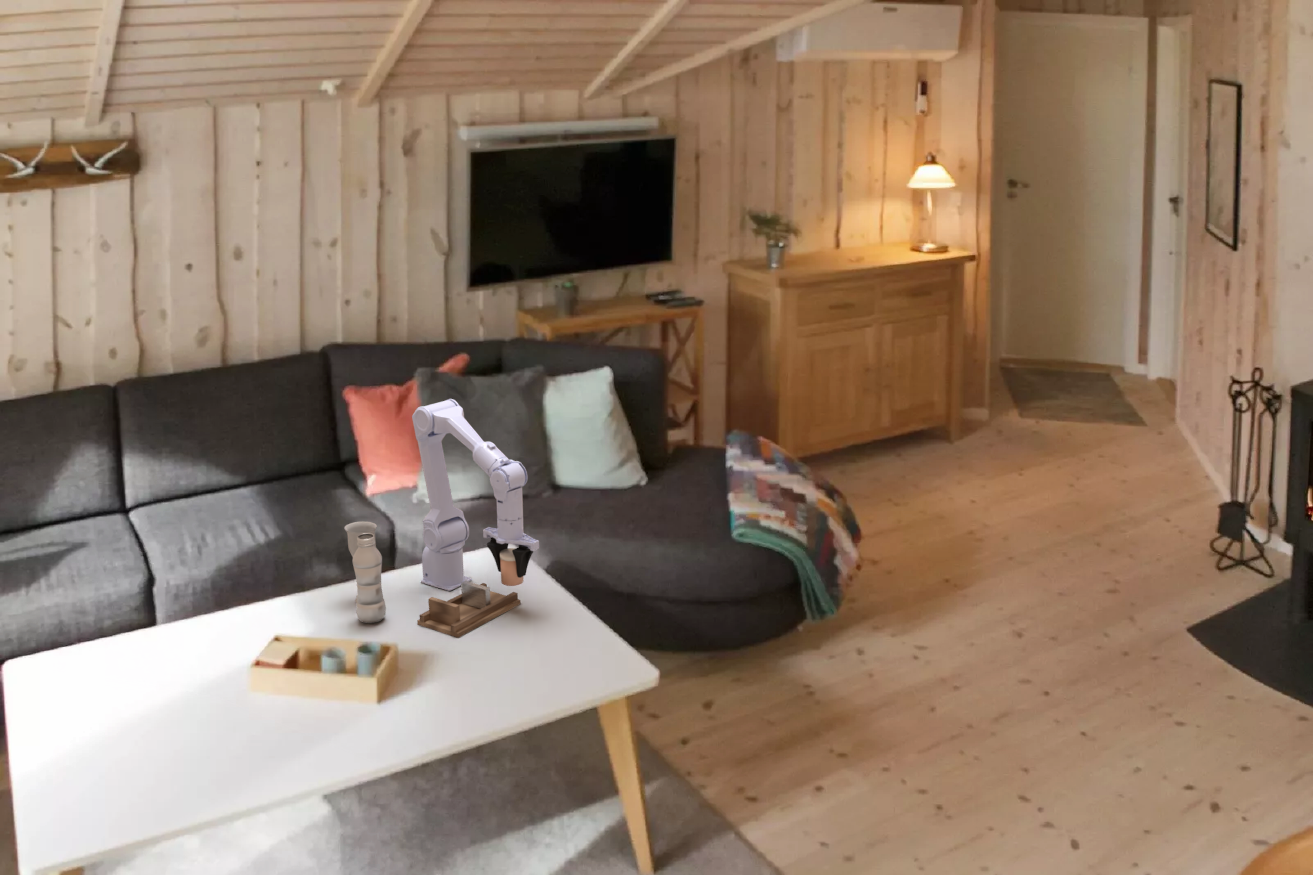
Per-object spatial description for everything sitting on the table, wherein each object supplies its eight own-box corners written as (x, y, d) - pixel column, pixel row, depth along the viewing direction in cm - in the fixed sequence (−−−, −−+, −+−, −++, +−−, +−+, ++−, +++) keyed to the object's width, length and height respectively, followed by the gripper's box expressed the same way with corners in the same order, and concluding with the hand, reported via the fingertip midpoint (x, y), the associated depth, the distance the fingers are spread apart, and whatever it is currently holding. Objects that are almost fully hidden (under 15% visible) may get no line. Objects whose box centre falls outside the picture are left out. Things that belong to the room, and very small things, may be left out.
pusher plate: (462, 603, 299) (461, 582, 297) (466, 600, 300) (465, 580, 299) (486, 610, 295) (485, 589, 294) (490, 608, 296) (489, 587, 295)
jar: (495, 582, 296) (494, 553, 294) (510, 575, 300) (509, 546, 298) (513, 588, 293) (512, 558, 291) (528, 580, 297) (527, 551, 295)
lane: (417, 624, 291) (415, 599, 289) (480, 592, 308) (479, 568, 306) (458, 637, 285) (456, 612, 283) (520, 603, 301) (519, 579, 300)
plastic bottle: (390, 614, 296) (384, 531, 290) (381, 627, 290) (375, 542, 284) (362, 613, 297) (356, 530, 291) (352, 626, 290) (346, 541, 284)
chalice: (344, 604, 302) (338, 530, 296) (359, 592, 308) (353, 520, 302) (373, 607, 300) (367, 533, 294) (387, 596, 306) (382, 523, 300)
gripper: (473, 515, 293) (475, 571, 297) (523, 528, 285) (525, 586, 289) (494, 505, 298) (496, 561, 302) (544, 519, 291) (545, 575, 295)
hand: (511, 573), depth 296 cm, fingers closed on jar, 5 cm apart
